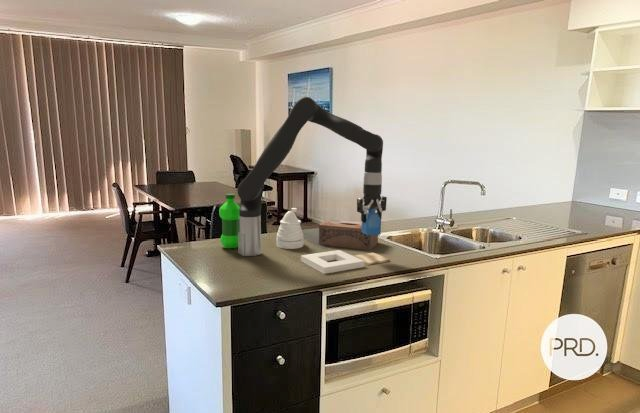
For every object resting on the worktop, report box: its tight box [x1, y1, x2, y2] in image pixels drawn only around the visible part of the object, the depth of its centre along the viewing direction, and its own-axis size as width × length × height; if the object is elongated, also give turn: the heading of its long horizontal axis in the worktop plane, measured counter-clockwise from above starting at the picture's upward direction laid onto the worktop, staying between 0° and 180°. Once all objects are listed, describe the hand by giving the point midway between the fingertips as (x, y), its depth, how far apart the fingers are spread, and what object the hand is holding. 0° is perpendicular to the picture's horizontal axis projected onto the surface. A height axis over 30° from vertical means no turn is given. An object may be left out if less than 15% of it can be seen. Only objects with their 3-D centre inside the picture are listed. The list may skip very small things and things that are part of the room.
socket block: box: [300, 249, 365, 275], centre depth 183 cm, size 19×19×2 cm
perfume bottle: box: [361, 205, 382, 236], centre depth 188 cm, size 6×6×12 cm
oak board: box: [353, 252, 391, 266], centre depth 191 cm, size 12×12×1 cm
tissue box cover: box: [318, 218, 379, 251], centre depth 216 cm, size 26×14×10 cm, turn 70°
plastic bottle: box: [218, 193, 240, 249], centre depth 205 cm, size 10×10×25 cm
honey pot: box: [276, 207, 304, 250], centre depth 211 cm, size 13×13×18 cm
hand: (371, 221), depth 188 cm, fingers closed on perfume bottle, 7 cm apart
